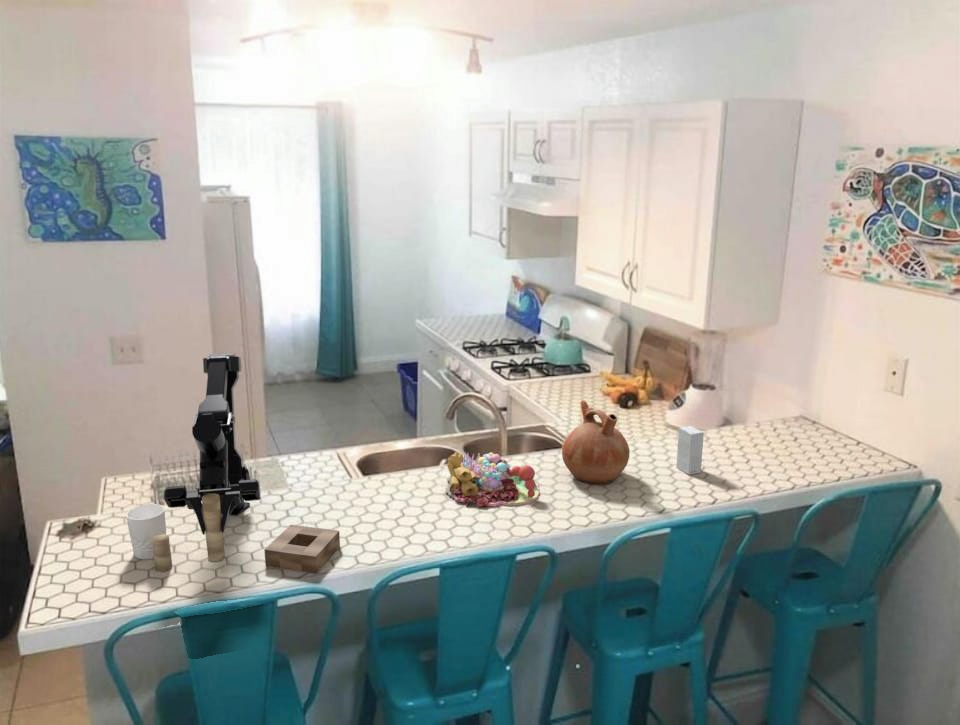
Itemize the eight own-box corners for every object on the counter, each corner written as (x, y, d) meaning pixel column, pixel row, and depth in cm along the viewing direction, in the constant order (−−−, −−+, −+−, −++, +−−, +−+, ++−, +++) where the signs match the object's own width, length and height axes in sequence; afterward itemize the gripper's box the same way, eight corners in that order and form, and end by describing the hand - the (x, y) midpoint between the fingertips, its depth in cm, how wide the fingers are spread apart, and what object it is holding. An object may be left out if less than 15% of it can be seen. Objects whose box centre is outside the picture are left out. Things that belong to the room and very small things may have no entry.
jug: (548, 469, 224) (550, 401, 218) (603, 459, 231) (606, 393, 226) (583, 495, 208) (586, 422, 202) (641, 483, 215) (645, 412, 210)
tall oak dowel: (214, 553, 169) (207, 492, 165) (228, 555, 168) (222, 494, 164) (204, 561, 166) (198, 499, 162) (219, 563, 165) (213, 501, 161)
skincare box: (701, 473, 222) (704, 432, 218) (688, 475, 220) (691, 434, 217) (688, 465, 227) (691, 425, 224) (675, 467, 226) (678, 427, 222)
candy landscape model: (455, 514, 198) (455, 479, 196) (435, 476, 220) (435, 445, 218) (550, 502, 204) (551, 469, 202) (522, 467, 226) (522, 436, 224)
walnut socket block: (291, 540, 184) (290, 524, 183) (340, 546, 181) (339, 530, 180) (265, 566, 173) (264, 549, 172) (316, 573, 170) (315, 556, 169)
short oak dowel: (161, 562, 175) (158, 533, 173) (175, 564, 174) (172, 535, 172) (152, 570, 171) (148, 540, 170) (165, 572, 171) (162, 542, 169)
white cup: (174, 543, 183) (169, 503, 180) (162, 561, 175) (157, 519, 173) (139, 544, 183) (134, 503, 180) (125, 561, 175) (120, 520, 172)
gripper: (261, 472, 180) (263, 540, 172) (174, 479, 176) (171, 549, 169) (257, 453, 170) (259, 523, 163) (164, 460, 166) (162, 532, 159)
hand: (213, 532), depth 164 cm, fingers closed on tall oak dowel, 3 cm apart
